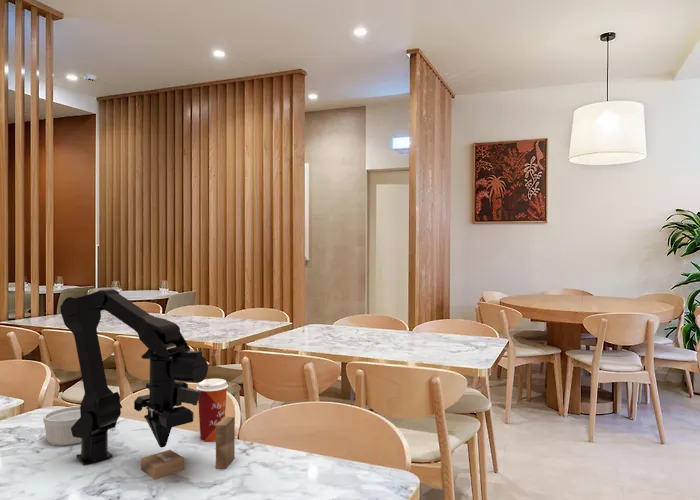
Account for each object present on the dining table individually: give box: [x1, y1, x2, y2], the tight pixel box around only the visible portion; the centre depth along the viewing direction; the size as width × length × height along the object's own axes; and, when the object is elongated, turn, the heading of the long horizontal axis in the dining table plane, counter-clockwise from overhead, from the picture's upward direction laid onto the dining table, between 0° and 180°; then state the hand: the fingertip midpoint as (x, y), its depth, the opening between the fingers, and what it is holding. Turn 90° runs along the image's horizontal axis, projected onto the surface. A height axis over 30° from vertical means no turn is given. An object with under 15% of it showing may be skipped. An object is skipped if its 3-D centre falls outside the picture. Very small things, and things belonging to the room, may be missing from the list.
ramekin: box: [42, 405, 81, 446], centre depth 133 cm, size 13×13×7 cm
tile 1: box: [140, 449, 186, 480], centre depth 113 cm, size 7×7×3 cm
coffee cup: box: [195, 378, 229, 443], centre depth 133 cm, size 8×8×15 cm
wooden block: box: [215, 416, 236, 470], centre depth 117 cm, size 3×6×10 cm, turn 174°
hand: (162, 446), depth 113 cm, fingers closed
